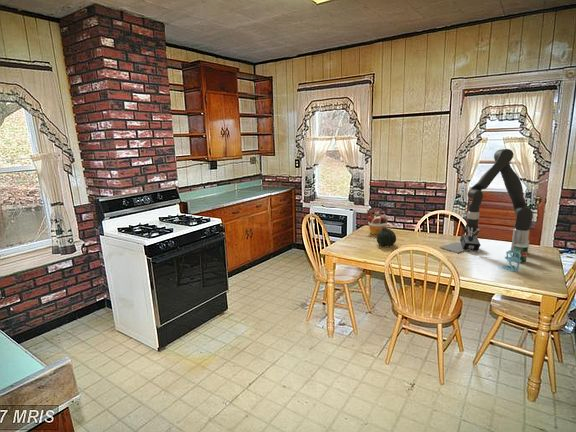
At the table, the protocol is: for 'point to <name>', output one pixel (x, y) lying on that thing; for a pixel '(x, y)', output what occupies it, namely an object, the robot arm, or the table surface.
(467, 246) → the small box
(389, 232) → the squash
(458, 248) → the mat
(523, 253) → the canned tomato
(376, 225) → the bucket of meat
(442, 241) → the table surface
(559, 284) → the table surface
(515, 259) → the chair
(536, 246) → the table surface
